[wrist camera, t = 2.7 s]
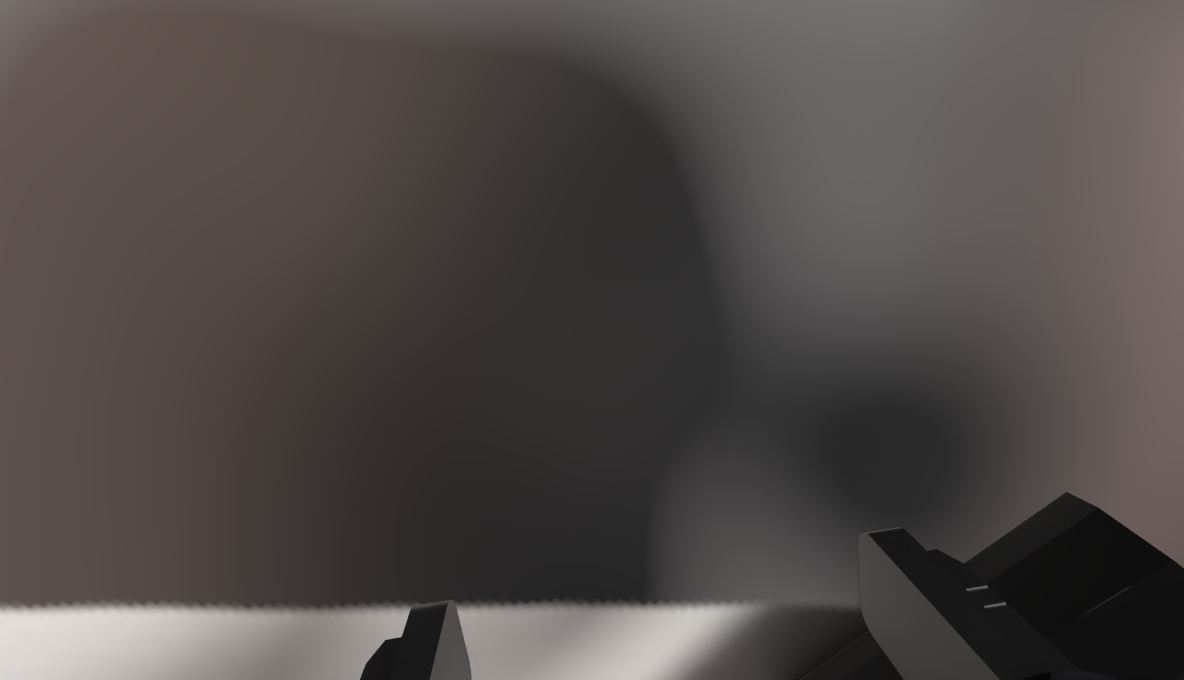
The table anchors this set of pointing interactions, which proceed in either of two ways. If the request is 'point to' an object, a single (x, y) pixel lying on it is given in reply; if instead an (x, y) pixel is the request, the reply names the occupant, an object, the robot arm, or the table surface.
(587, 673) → the table surface
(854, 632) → the table surface
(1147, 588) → the cable
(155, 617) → the table surface
